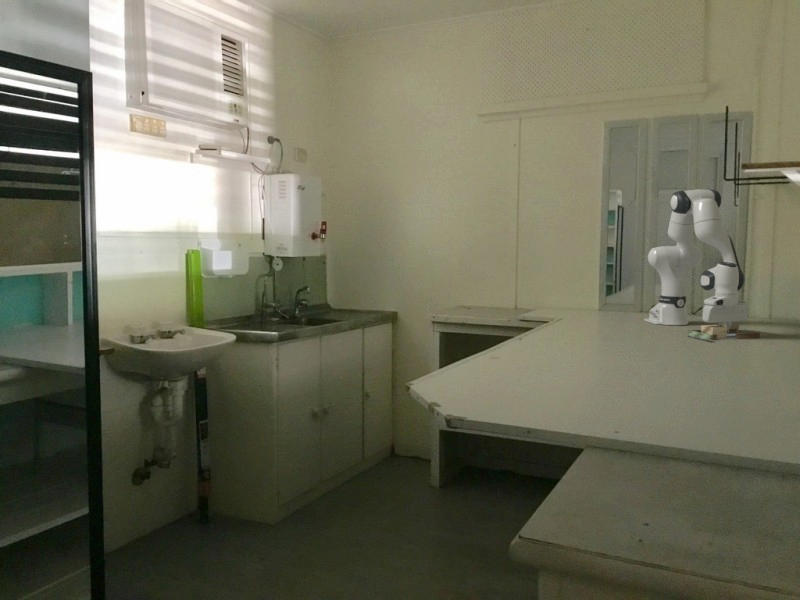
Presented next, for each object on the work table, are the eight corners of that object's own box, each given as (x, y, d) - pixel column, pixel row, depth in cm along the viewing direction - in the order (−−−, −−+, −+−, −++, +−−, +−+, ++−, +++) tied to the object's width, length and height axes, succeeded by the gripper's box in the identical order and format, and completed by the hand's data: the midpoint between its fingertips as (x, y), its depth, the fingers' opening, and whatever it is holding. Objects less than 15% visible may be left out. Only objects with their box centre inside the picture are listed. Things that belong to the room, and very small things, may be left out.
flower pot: (746, 335, 276) (747, 316, 275) (724, 335, 276) (725, 316, 275) (735, 332, 285) (736, 313, 284) (714, 332, 285) (715, 313, 284)
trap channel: (687, 337, 271) (688, 330, 271) (734, 335, 276) (735, 328, 276) (710, 342, 258) (710, 335, 257) (759, 340, 263) (759, 333, 262)
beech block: (700, 335, 268) (701, 325, 268) (714, 335, 270) (715, 325, 269) (712, 338, 261) (712, 327, 261) (726, 337, 263) (727, 327, 262)
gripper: (741, 299, 271) (739, 330, 272) (700, 300, 266) (699, 332, 267) (752, 300, 265) (750, 332, 266) (711, 301, 260) (709, 334, 261)
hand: (724, 332), depth 267 cm, fingers closed
